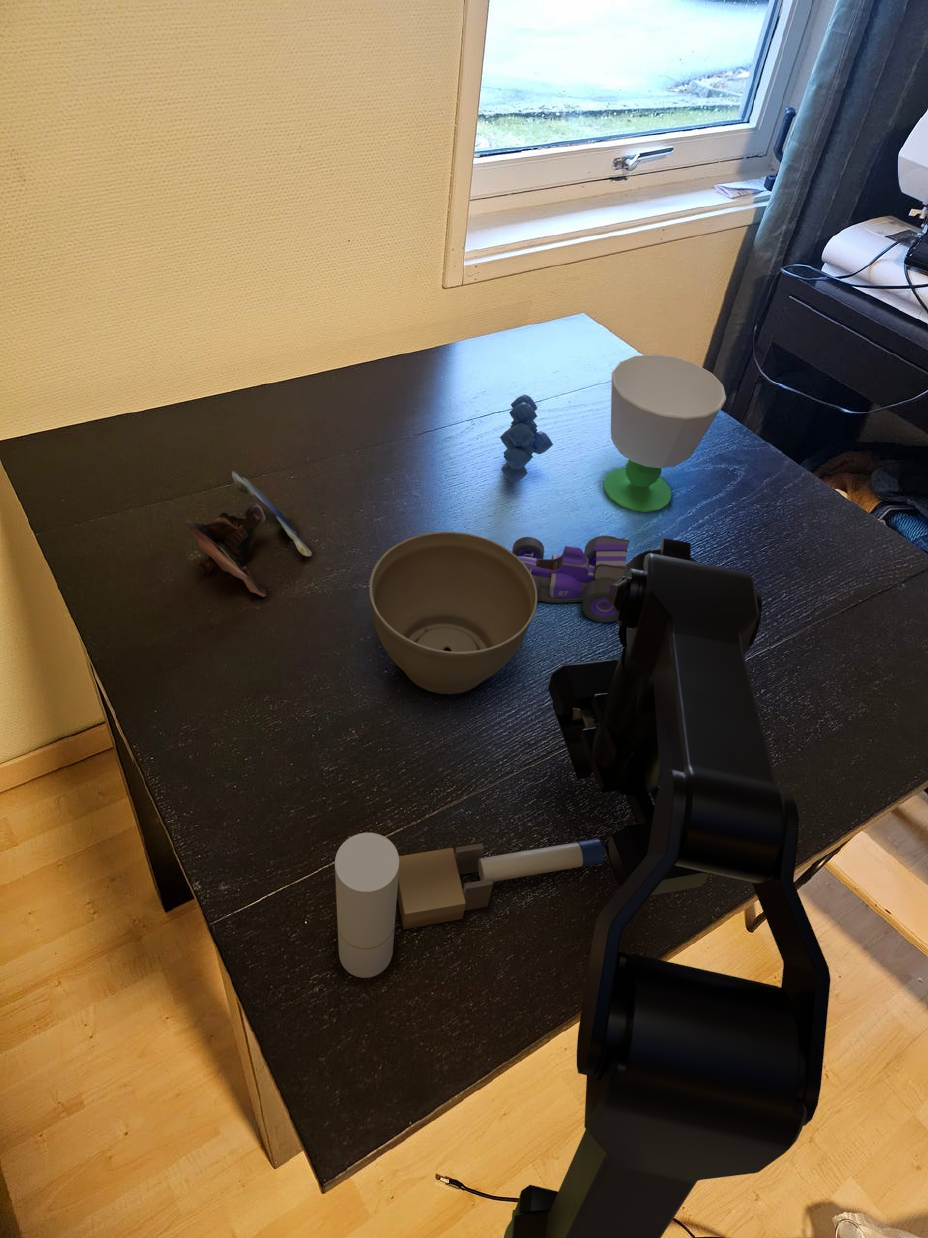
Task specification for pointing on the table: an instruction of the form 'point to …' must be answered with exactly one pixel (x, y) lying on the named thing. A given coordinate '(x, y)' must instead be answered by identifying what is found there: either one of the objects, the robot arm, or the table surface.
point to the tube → (366, 903)
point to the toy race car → (577, 573)
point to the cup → (657, 424)
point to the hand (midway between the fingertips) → (600, 825)
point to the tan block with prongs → (440, 886)
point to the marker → (541, 860)
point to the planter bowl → (451, 608)
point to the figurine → (238, 537)
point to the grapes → (522, 439)
